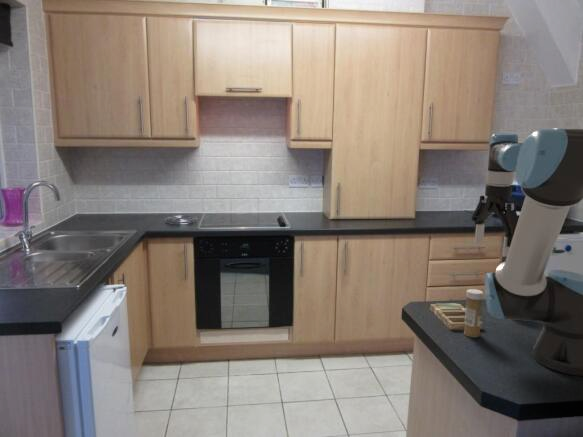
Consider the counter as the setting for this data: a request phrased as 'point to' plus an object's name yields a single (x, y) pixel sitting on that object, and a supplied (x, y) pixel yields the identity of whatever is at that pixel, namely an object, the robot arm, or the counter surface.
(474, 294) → the sprinkles bottle
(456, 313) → the slotted wooden board
